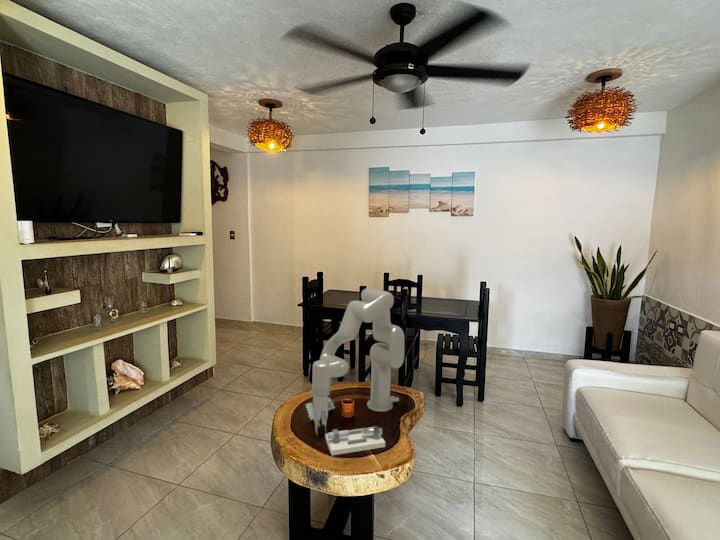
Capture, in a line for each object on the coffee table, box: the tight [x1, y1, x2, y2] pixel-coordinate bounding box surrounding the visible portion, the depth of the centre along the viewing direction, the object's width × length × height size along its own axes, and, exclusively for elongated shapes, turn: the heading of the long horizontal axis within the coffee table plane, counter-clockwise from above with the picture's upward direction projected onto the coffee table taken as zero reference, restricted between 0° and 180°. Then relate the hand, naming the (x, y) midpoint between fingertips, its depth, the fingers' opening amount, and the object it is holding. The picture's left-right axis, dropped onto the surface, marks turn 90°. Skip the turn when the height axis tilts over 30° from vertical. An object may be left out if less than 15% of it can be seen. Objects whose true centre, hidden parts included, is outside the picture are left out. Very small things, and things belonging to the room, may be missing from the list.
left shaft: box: [361, 425, 384, 439], centre depth 149 cm, size 8×4×4 cm, turn 92°
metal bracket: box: [305, 397, 336, 421], centre depth 174 cm, size 14×6×15 cm
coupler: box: [313, 418, 328, 436], centre depth 155 cm, size 6×4×7 cm
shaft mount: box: [324, 426, 386, 456], centre depth 148 cm, size 22×12×6 cm, turn 107°
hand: (320, 431), depth 155 cm, fingers closed on coupler, 4 cm apart
